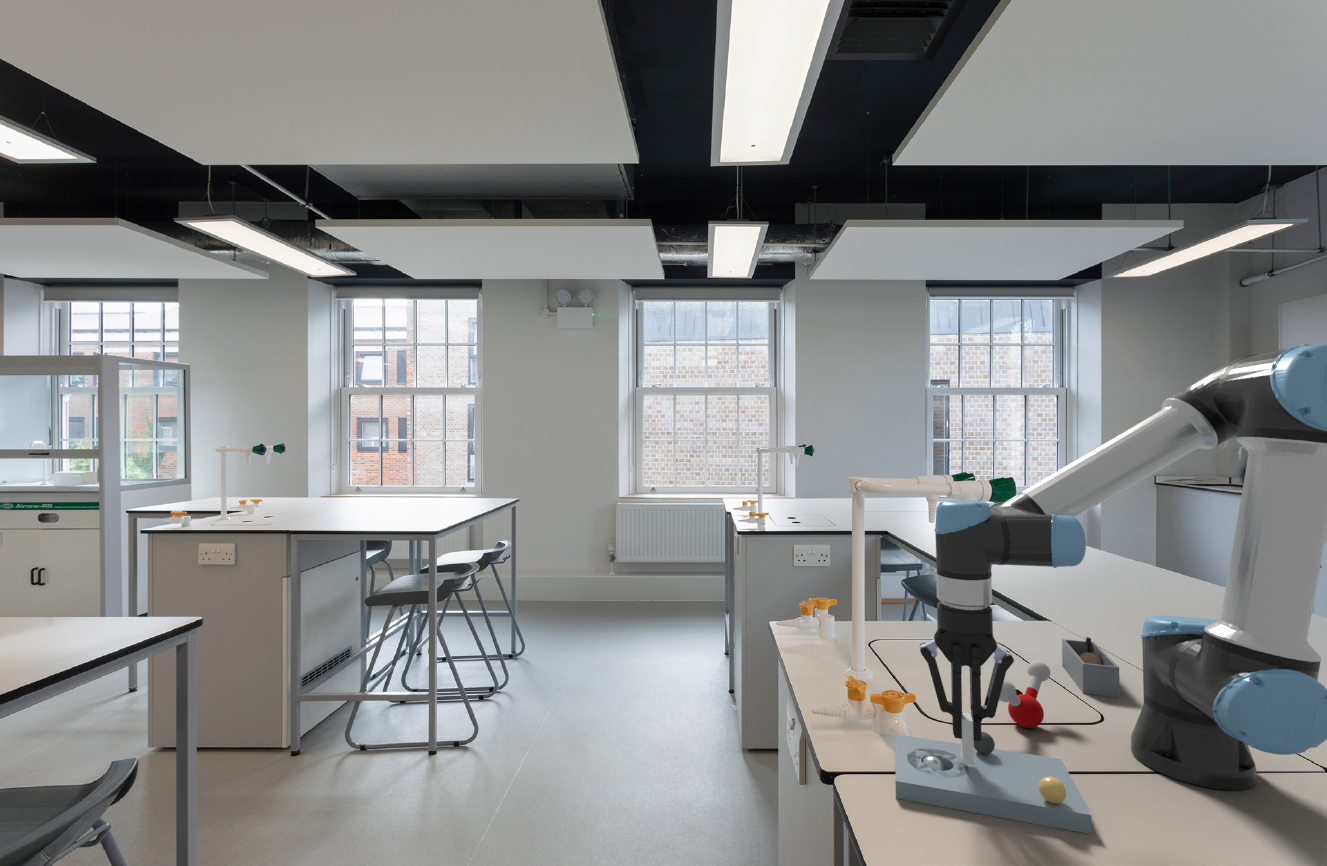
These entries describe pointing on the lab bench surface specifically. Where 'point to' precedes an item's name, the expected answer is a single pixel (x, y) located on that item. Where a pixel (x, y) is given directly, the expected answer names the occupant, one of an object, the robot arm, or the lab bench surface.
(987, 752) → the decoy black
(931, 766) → the steel ball
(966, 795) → the plate
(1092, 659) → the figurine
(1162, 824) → the lab bench surface
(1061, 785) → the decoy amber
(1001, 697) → the molecular model
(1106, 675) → the open storage box
